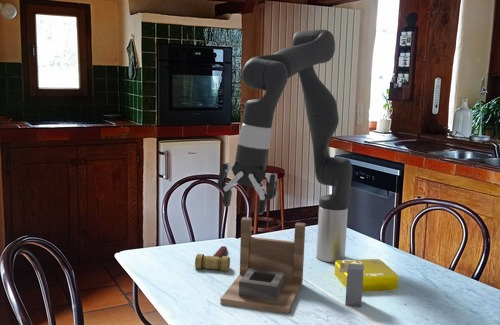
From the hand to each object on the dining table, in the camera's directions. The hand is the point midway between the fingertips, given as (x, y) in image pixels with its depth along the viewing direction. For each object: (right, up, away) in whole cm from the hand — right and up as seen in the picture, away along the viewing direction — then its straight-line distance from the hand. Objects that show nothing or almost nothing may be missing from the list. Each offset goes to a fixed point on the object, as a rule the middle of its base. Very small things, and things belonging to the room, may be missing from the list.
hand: (242, 210), depth 128 cm
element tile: (+35, -24, +28) cm, 51 cm away
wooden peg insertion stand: (+5, -24, +16) cm, 29 cm away
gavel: (-8, -20, +41) cm, 47 cm away
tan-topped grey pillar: (+29, -26, +12) cm, 40 cm away
